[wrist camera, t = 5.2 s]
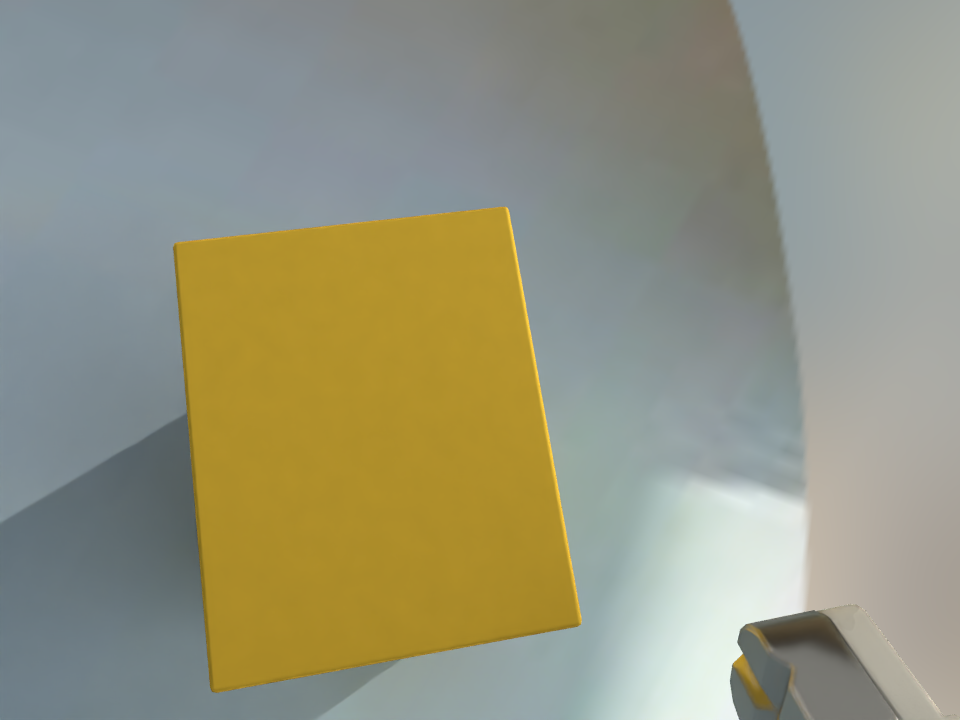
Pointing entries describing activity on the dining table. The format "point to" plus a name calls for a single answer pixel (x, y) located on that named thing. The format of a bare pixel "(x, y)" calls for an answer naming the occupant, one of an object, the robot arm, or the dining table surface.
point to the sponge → (367, 446)
